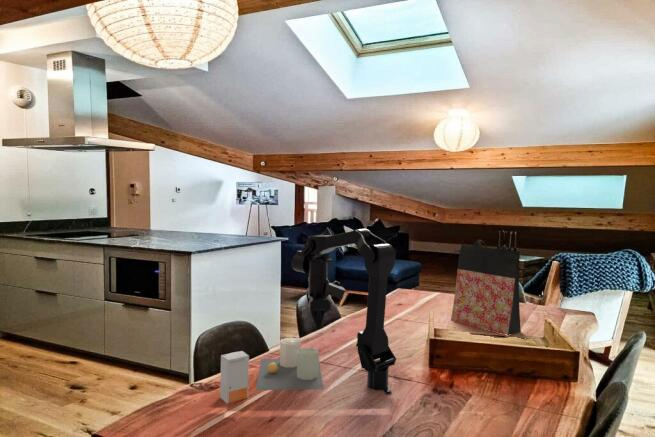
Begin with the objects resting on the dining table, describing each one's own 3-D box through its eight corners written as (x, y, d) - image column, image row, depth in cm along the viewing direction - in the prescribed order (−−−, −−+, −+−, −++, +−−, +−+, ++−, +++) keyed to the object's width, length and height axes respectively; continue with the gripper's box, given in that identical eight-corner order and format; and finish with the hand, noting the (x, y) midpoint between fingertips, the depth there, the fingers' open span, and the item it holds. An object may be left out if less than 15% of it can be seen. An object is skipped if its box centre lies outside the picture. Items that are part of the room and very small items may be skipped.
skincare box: (226, 407, 111) (227, 360, 110) (219, 400, 115) (220, 354, 114) (249, 401, 115) (249, 355, 114) (241, 394, 118) (242, 350, 117)
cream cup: (300, 367, 135) (300, 344, 134) (279, 367, 134) (280, 344, 134) (299, 359, 141) (300, 337, 140) (280, 359, 140) (280, 337, 140)
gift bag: (524, 330, 180) (528, 243, 178) (505, 337, 171) (509, 245, 169) (461, 313, 203) (464, 236, 201) (441, 319, 194) (444, 238, 192)
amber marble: (277, 375, 129) (277, 364, 129) (267, 375, 129) (267, 364, 128) (277, 370, 132) (278, 360, 132) (267, 370, 132) (267, 360, 131)
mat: (323, 392, 120) (323, 389, 120) (255, 393, 119) (255, 389, 119) (318, 361, 142) (318, 358, 142) (261, 362, 141) (261, 358, 141)
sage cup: (318, 379, 126) (319, 355, 126) (297, 379, 126) (297, 355, 125) (317, 371, 132) (317, 347, 132) (296, 371, 132) (297, 347, 131)
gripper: (348, 281, 132) (347, 333, 133) (339, 270, 151) (338, 316, 152) (310, 281, 131) (309, 334, 132) (306, 270, 150) (305, 316, 151)
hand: (317, 324), depth 142 cm, fingers open, 9 cm apart
